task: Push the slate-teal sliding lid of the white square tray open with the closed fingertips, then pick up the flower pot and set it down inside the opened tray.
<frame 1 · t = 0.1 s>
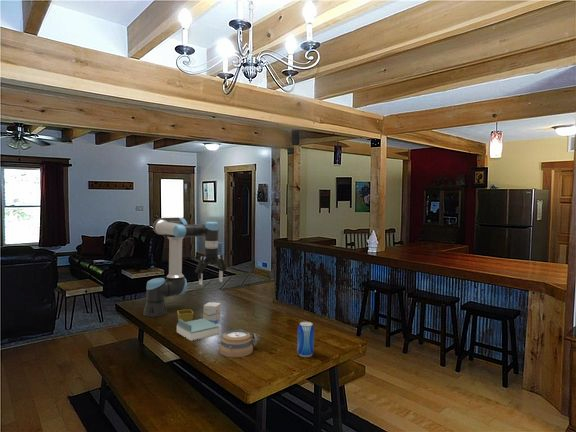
hand: (210, 283, 230), 28 cm above the table, fingers open, 13 cm apart
beer can: (305, 355, 197), on the table
white square tray: (197, 333, 224), on the table
flower pot: (184, 326, 236), on the table
lid: (197, 322, 224), point 6 cm above the table, slide at 0.0 cm
ink box: (211, 322, 245), on the table
alarm clock: (240, 349, 202), on the table
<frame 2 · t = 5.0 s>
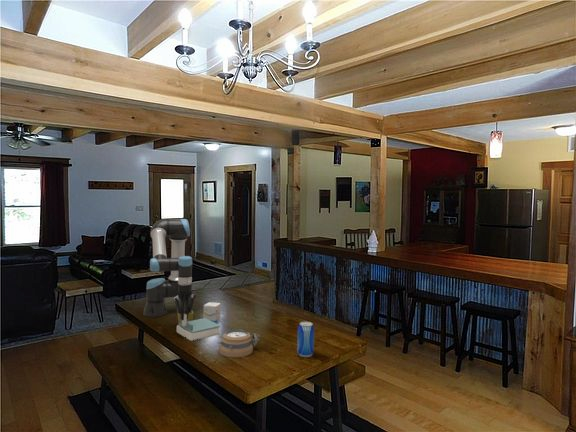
hand: (184, 325, 218), 6 cm above the table, fingers closed
lid: (199, 322, 224), point 6 cm above the table, slide at 0.9 cm, touching gripper
everything else where it was.
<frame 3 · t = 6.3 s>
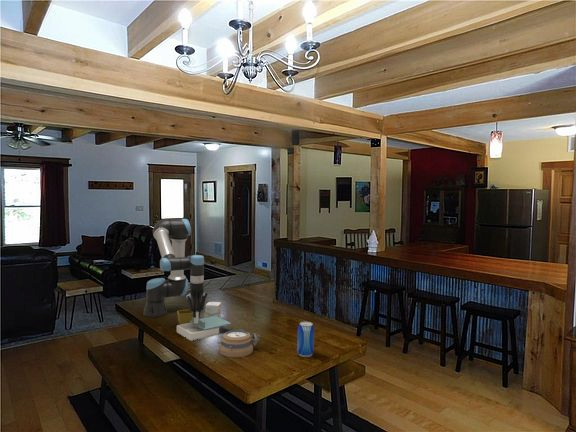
hand: (196, 322, 223), 6 cm above the table, fingers closed
lid: (210, 320, 229), point 6 cm above the table, slide at 8.4 cm, touching gripper
ink box: (213, 321, 246), on the table
everything else where it was.
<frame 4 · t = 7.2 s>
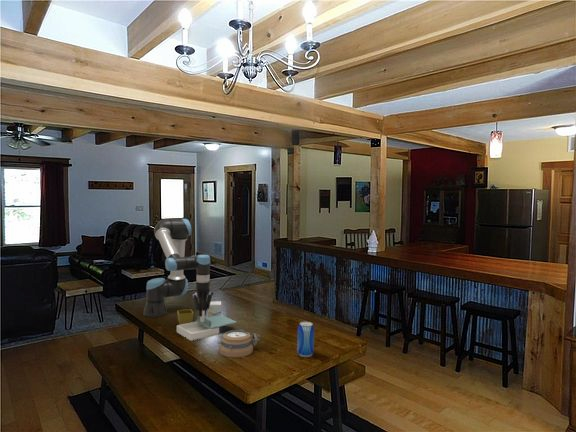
hand: (202, 321, 225), 6 cm above the table, fingers closed
lid: (216, 318, 232), point 6 cm above the table, slide at 12.3 cm, touching gripper
ink box: (214, 321, 248), on the table
everything else where it was.
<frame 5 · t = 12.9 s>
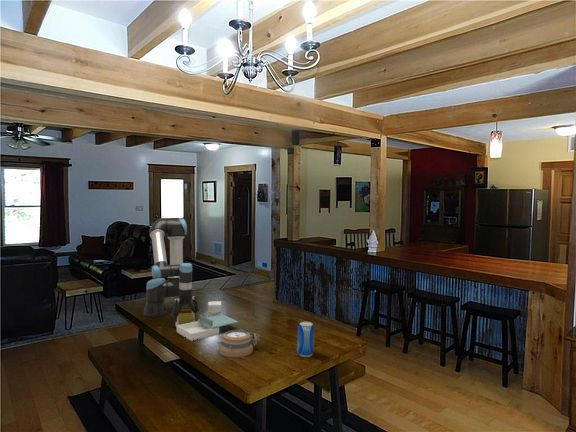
hand: (185, 324, 236), 1 cm above the table, fingers closed on flower pot, 10 cm apart
flower pot: (185, 326, 236), on the table, touching gripper
lid: (217, 318, 232), point 6 cm above the table, slide at 13.4 cm
everything else where it was.
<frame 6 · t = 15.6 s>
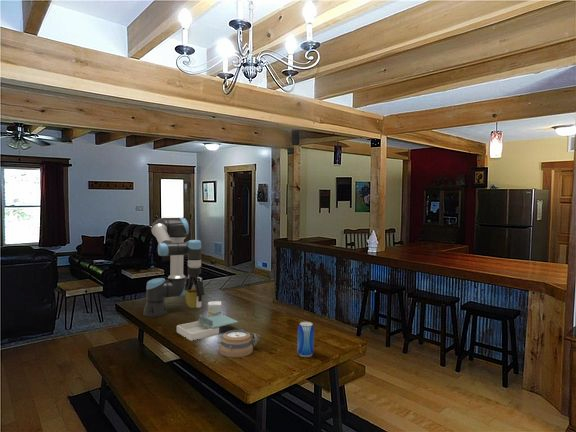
hand: (193, 305, 223), 16 cm above the table, fingers closed on flower pot, 10 cm apart
flower pot: (193, 306, 223), point 15 cm above the table, touching gripper
everything else where it was.
when the fingers open (4 cm above the table, at t = 18.5 s): flower pot drops 2 cm, resting on white square tray.
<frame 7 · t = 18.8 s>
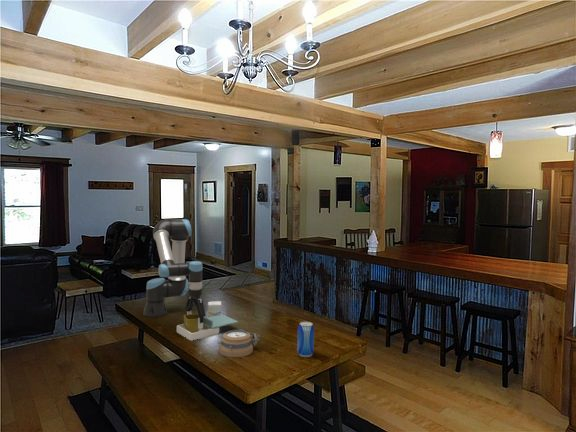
hand: (194, 325, 222), 5 cm above the table, fingers open, 13 cm apart
flower pot: (192, 331, 224), point 1 cm above the table, touching gripper, white square tray
everything else where it was.
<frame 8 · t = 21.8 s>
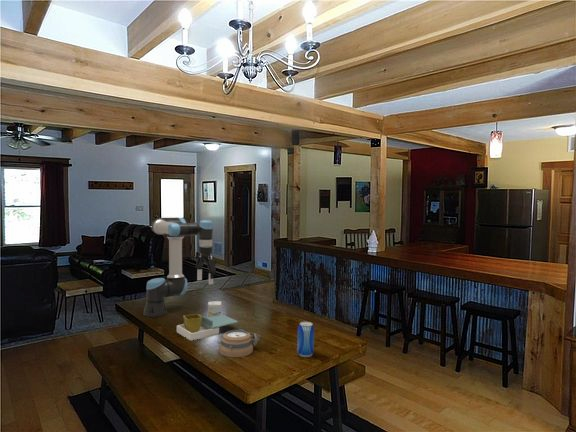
hand: (205, 282, 229), 29 cm above the table, fingers open, 13 cm apart
flower pot: (192, 332, 224), point 1 cm above the table, touching white square tray
everything else where it was.
at the end: lid slide at 13.4 cm; flower pot inside the target area (2.5 cm from its centre), point 0.6 cm above the table; flower pot tilted 0° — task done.
